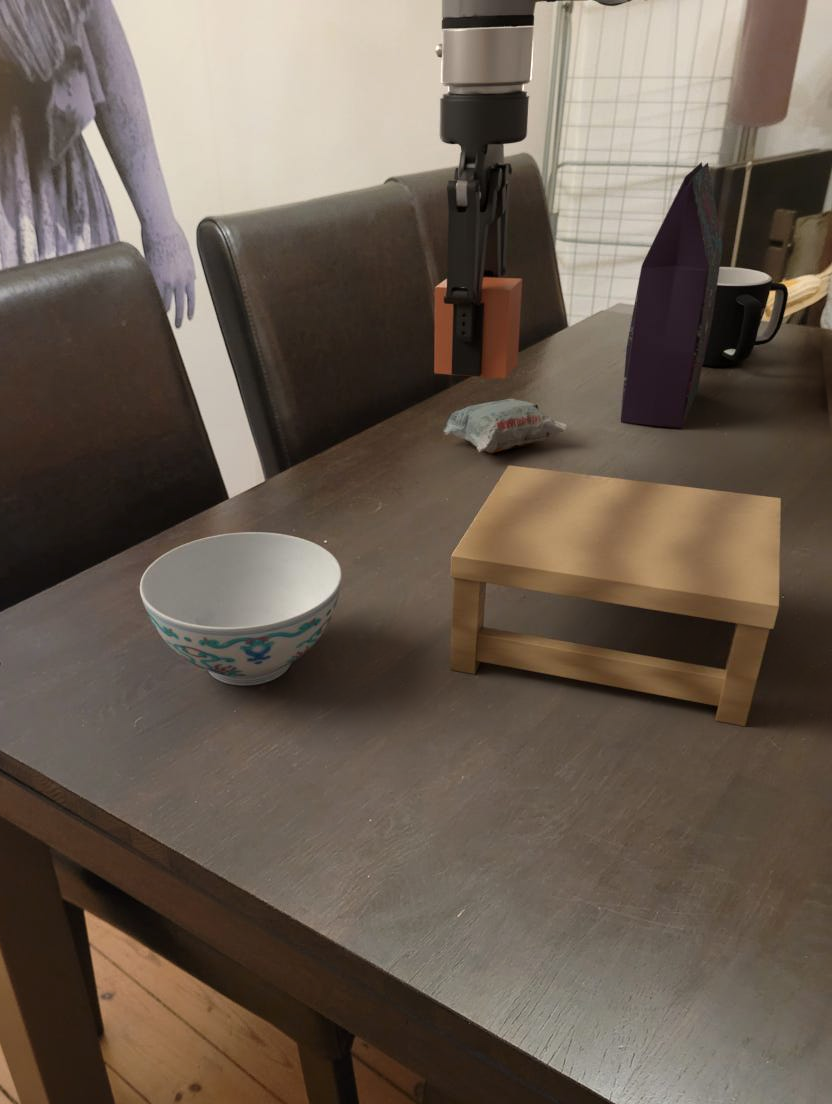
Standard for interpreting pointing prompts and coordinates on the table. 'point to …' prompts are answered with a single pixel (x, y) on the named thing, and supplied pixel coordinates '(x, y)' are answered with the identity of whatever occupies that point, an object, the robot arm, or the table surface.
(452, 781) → the table surface
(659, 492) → the wooden footstool
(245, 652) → the chinaware
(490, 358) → the small box
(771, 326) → the mug
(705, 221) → the purple coffee bag
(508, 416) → the packaged food
